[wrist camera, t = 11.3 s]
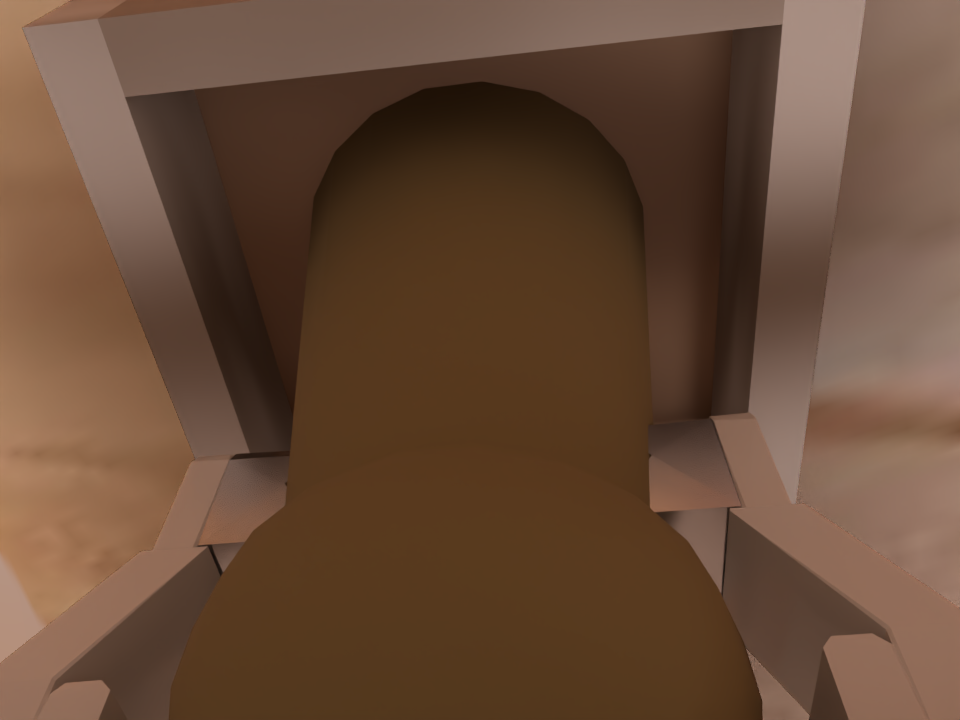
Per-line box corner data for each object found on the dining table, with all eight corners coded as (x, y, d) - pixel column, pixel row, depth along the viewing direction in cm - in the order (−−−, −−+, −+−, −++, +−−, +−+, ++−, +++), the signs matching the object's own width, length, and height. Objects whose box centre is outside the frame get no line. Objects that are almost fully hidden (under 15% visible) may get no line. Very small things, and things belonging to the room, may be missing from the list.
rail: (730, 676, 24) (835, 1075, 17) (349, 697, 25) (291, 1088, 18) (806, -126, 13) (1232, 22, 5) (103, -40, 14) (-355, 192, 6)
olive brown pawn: (623, 387, 17) (773, 1078, 8) (323, 379, 17) (138, 1066, 8) (670, 86, 14) (1021, 709, 5) (293, 75, 14) (-90, 685, 5)
